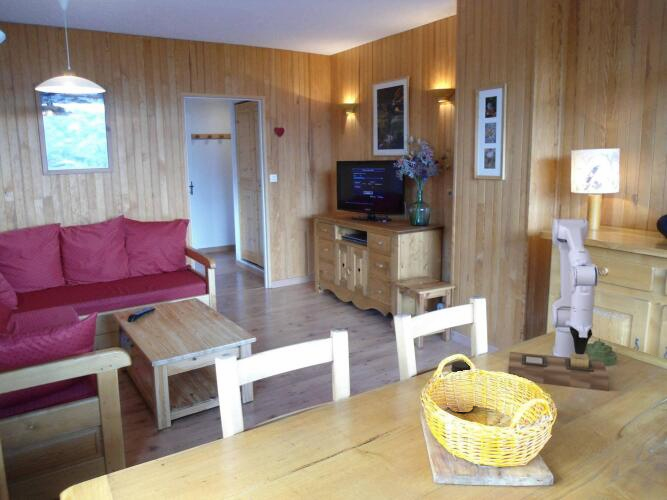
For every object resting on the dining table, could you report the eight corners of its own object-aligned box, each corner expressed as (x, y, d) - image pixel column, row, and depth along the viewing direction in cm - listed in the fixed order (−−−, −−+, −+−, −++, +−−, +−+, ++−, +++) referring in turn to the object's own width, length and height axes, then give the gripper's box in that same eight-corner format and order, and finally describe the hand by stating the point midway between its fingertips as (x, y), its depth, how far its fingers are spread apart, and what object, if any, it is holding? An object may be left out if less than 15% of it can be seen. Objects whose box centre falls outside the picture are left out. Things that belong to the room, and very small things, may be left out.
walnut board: (509, 363, 163) (509, 350, 163) (602, 373, 154) (603, 359, 154) (507, 379, 152) (508, 365, 152) (607, 391, 143) (608, 375, 143)
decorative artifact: (590, 352, 171) (574, 359, 165) (591, 331, 170) (575, 338, 164) (621, 360, 163) (606, 369, 158) (623, 339, 162) (607, 347, 156)
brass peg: (569, 366, 154) (570, 352, 153) (586, 367, 152) (587, 354, 151) (570, 372, 149) (571, 358, 149) (587, 374, 148) (588, 359, 147)
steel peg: (525, 369, 158) (526, 356, 157) (541, 371, 157) (542, 358, 156) (525, 375, 154) (525, 362, 153) (541, 377, 153) (542, 363, 152)
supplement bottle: (476, 413, 133) (477, 369, 131) (449, 414, 134) (450, 370, 131) (470, 401, 140) (471, 358, 138) (444, 401, 140) (445, 359, 138)
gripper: (565, 299, 155) (562, 343, 158) (568, 314, 142) (565, 361, 145) (591, 301, 153) (588, 345, 155) (597, 316, 140) (594, 364, 142)
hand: (579, 353), depth 150 cm, fingers closed
